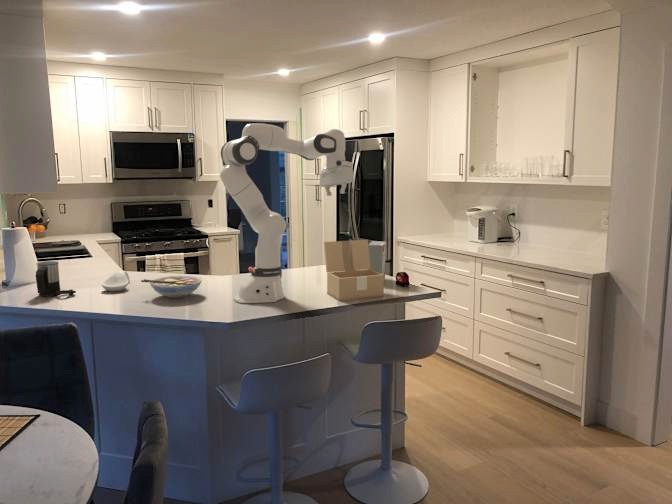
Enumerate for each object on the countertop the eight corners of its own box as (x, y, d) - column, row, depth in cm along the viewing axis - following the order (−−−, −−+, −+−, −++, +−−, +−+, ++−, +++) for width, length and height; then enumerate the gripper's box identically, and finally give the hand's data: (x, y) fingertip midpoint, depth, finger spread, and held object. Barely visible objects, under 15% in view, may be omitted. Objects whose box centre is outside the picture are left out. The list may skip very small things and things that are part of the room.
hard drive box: (381, 285, 272) (382, 245, 269) (366, 284, 274) (367, 244, 271) (385, 278, 287) (386, 241, 284) (370, 278, 289) (371, 240, 286)
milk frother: (40, 293, 253) (37, 261, 251) (77, 290, 259) (75, 259, 256) (35, 300, 240) (32, 267, 238) (75, 297, 246) (72, 264, 243)
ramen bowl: (214, 292, 256) (213, 275, 254) (187, 304, 234) (186, 286, 233) (167, 288, 263) (166, 272, 261) (137, 300, 241) (136, 282, 240)
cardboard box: (338, 301, 241) (339, 278, 240) (327, 293, 254) (327, 272, 252) (383, 296, 249) (384, 275, 248) (370, 289, 262) (370, 269, 261)
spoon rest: (125, 293, 254) (124, 278, 253) (99, 294, 253) (97, 278, 251) (136, 282, 277) (135, 268, 276) (112, 282, 276) (111, 268, 275)
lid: (324, 242, 253) (323, 242, 254) (327, 272, 252) (326, 272, 253) (367, 239, 261) (366, 239, 262) (370, 268, 261) (369, 269, 262)
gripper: (316, 167, 261) (316, 196, 260) (345, 160, 246) (344, 191, 245) (326, 169, 265) (326, 197, 265) (355, 162, 250) (355, 192, 249)
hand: (335, 194), depth 255 cm, fingers open, 8 cm apart
